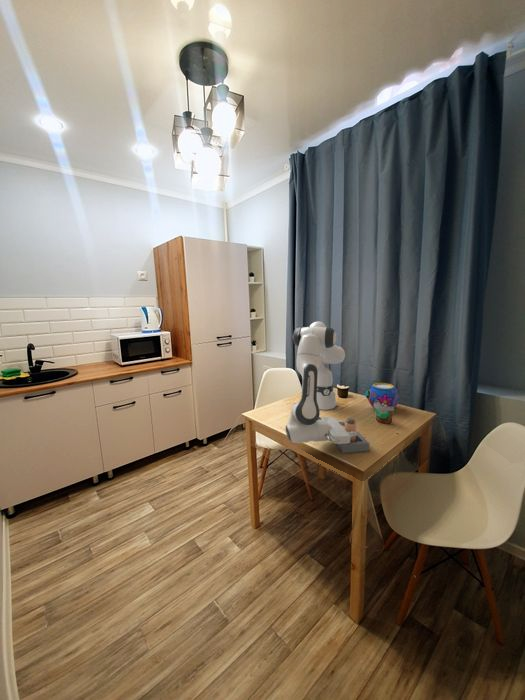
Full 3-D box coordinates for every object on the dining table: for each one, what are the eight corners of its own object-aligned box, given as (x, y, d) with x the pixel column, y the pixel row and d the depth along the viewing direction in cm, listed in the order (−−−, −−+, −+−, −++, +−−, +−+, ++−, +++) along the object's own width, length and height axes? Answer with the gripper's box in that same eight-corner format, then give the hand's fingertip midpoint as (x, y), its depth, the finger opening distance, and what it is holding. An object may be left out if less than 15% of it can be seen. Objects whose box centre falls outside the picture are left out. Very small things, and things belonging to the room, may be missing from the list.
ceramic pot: (372, 401, 179) (372, 379, 177) (401, 407, 168) (403, 384, 166) (362, 410, 166) (363, 386, 163) (394, 417, 155) (395, 391, 152)
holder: (333, 440, 131) (333, 432, 131) (356, 438, 133) (357, 430, 132) (342, 453, 120) (343, 445, 119) (369, 451, 121) (369, 443, 120)
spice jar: (342, 442, 128) (343, 418, 126) (353, 441, 129) (353, 417, 127) (347, 448, 123) (347, 422, 121) (357, 447, 124) (358, 421, 122)
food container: (368, 418, 155) (368, 401, 153) (377, 416, 157) (377, 399, 155) (384, 426, 144) (385, 408, 142) (393, 424, 146) (394, 406, 144)
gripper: (330, 434, 112) (362, 432, 114) (315, 415, 133) (342, 413, 134) (330, 449, 114) (361, 446, 115) (315, 427, 134) (342, 425, 135)
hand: (351, 428), depth 125 cm, fingers open, 8 cm apart
